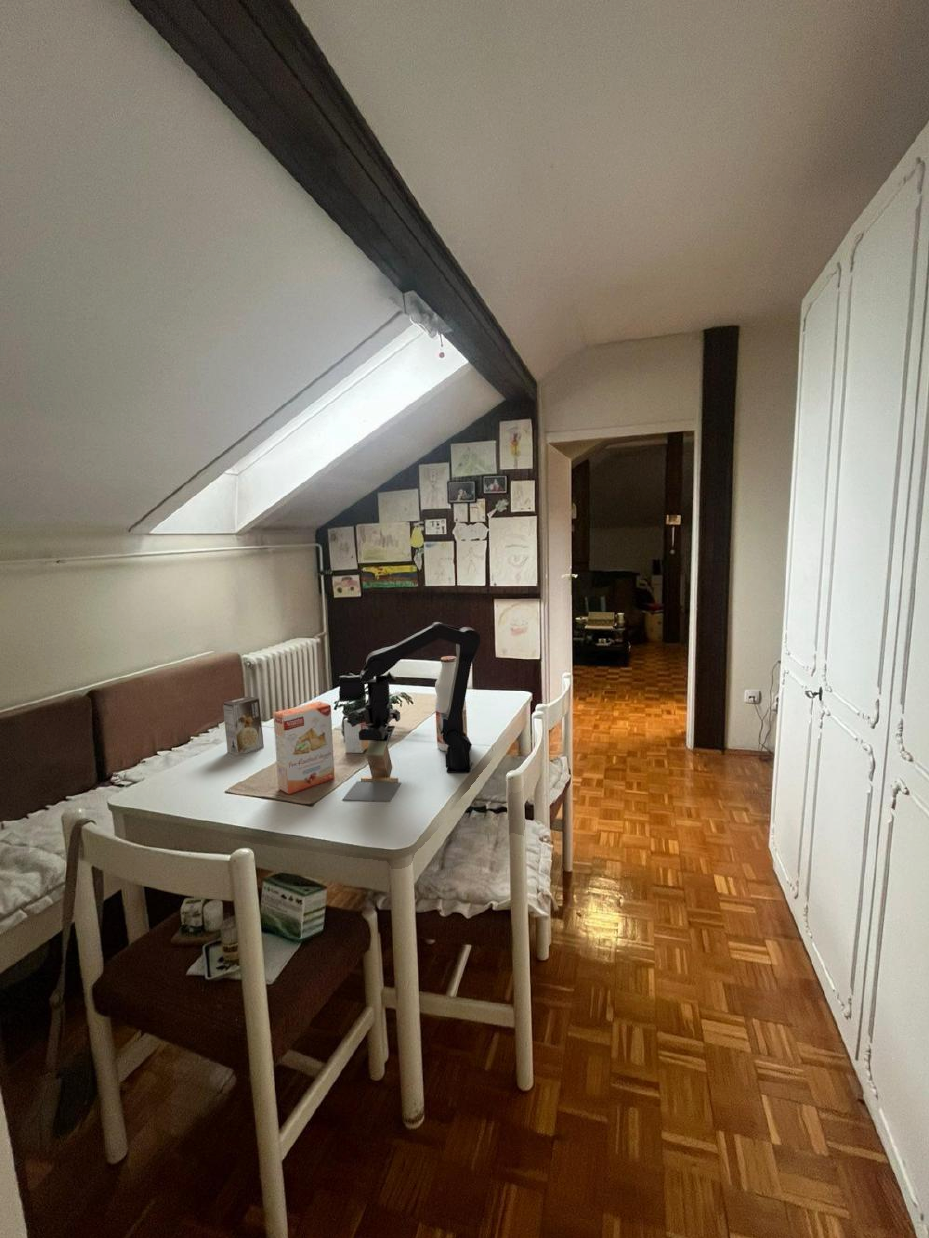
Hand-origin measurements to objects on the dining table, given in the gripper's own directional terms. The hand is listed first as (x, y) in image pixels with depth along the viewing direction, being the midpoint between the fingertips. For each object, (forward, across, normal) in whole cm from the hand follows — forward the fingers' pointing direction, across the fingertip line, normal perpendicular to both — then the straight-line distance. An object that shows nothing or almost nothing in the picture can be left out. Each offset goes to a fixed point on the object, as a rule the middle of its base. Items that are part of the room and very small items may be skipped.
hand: (382, 754), depth 158 cm
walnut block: (+5, +1, 0) cm, 5 cm away
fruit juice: (+6, -24, +15) cm, 29 cm away
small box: (+6, -20, -14) cm, 26 cm away
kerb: (+6, +4, 0) cm, 7 cm away
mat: (+6, +10, 0) cm, 12 cm away
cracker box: (+6, +7, -19) cm, 21 cm away
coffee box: (+6, -17, -50) cm, 53 cm away
